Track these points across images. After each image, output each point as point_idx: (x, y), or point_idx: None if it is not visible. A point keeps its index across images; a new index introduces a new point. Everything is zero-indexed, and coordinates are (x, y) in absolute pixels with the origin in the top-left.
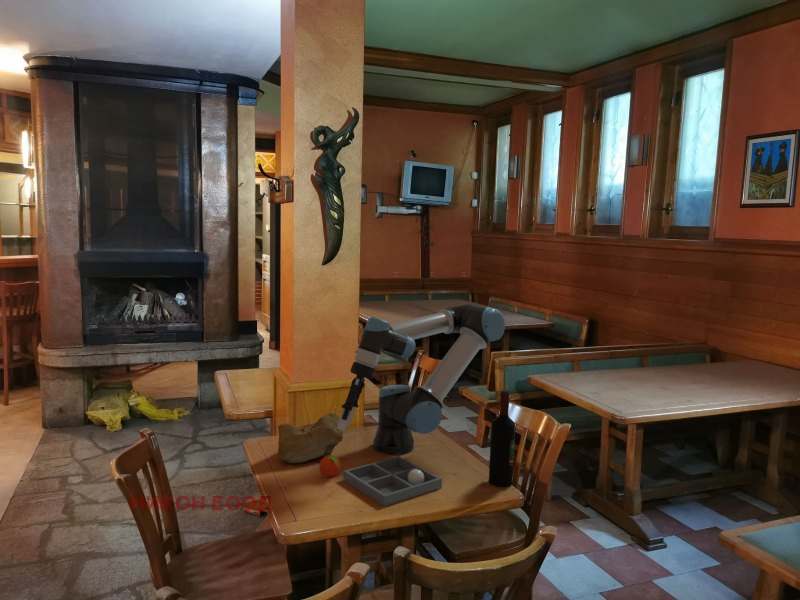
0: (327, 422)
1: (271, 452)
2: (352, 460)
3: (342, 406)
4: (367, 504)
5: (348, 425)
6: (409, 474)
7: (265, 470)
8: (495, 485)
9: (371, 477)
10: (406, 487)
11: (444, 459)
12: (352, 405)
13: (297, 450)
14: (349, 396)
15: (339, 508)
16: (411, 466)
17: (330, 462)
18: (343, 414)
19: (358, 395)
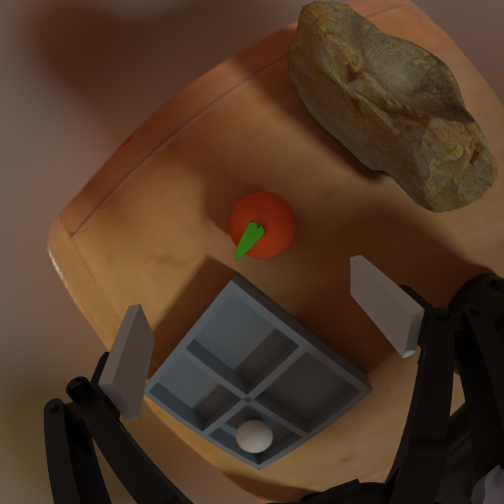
0: (428, 154)
1: None
2: (390, 250)
3: (72, 387)
4: (157, 347)
5: (352, 292)
6: (243, 433)
7: (251, 59)
8: (302, 499)
9: (272, 338)
10: (212, 420)
11: None
12: (80, 446)
13: (311, 95)
14: (55, 465)
15: (124, 298)
16: (320, 421)
17: (236, 236)
18: (95, 371)
19: (400, 446)
